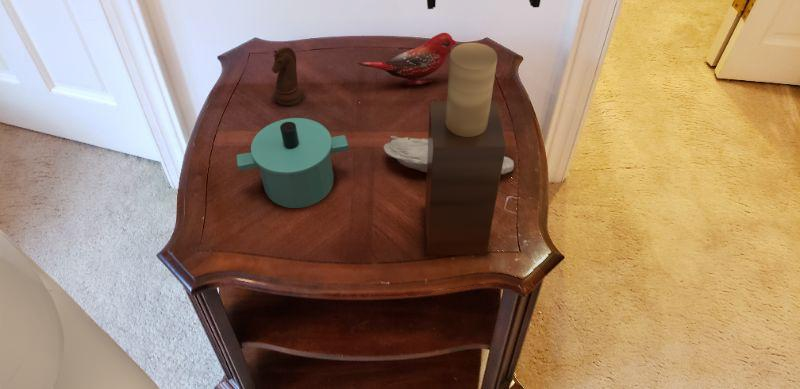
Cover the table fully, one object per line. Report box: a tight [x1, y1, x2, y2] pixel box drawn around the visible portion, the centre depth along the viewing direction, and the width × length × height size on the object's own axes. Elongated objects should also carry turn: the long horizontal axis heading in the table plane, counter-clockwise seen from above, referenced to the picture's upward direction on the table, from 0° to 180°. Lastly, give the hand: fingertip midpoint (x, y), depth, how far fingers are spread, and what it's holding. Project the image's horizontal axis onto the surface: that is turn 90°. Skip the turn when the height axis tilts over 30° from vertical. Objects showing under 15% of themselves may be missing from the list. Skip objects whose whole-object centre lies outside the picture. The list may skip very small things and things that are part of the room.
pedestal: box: [424, 100, 507, 256], centre depth 70 cm, size 8×8×20 cm
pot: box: [236, 134, 349, 209], centre depth 82 cm, size 10×16×8 cm, turn 106°
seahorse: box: [383, 135, 515, 176], centre depth 85 cm, size 5×12×20 cm
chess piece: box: [271, 46, 303, 107], centre depth 95 cm, size 5×5×10 cm
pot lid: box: [250, 117, 332, 175], centre depth 78 cm, size 11×11×4 cm
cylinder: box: [445, 42, 498, 137], centre depth 60 cm, size 5×5×9 cm
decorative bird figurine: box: [356, 32, 458, 86], centre depth 97 cm, size 3×18×10 cm, turn 102°
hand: (481, 0), depth 52 cm, fingers open, 9 cm apart
